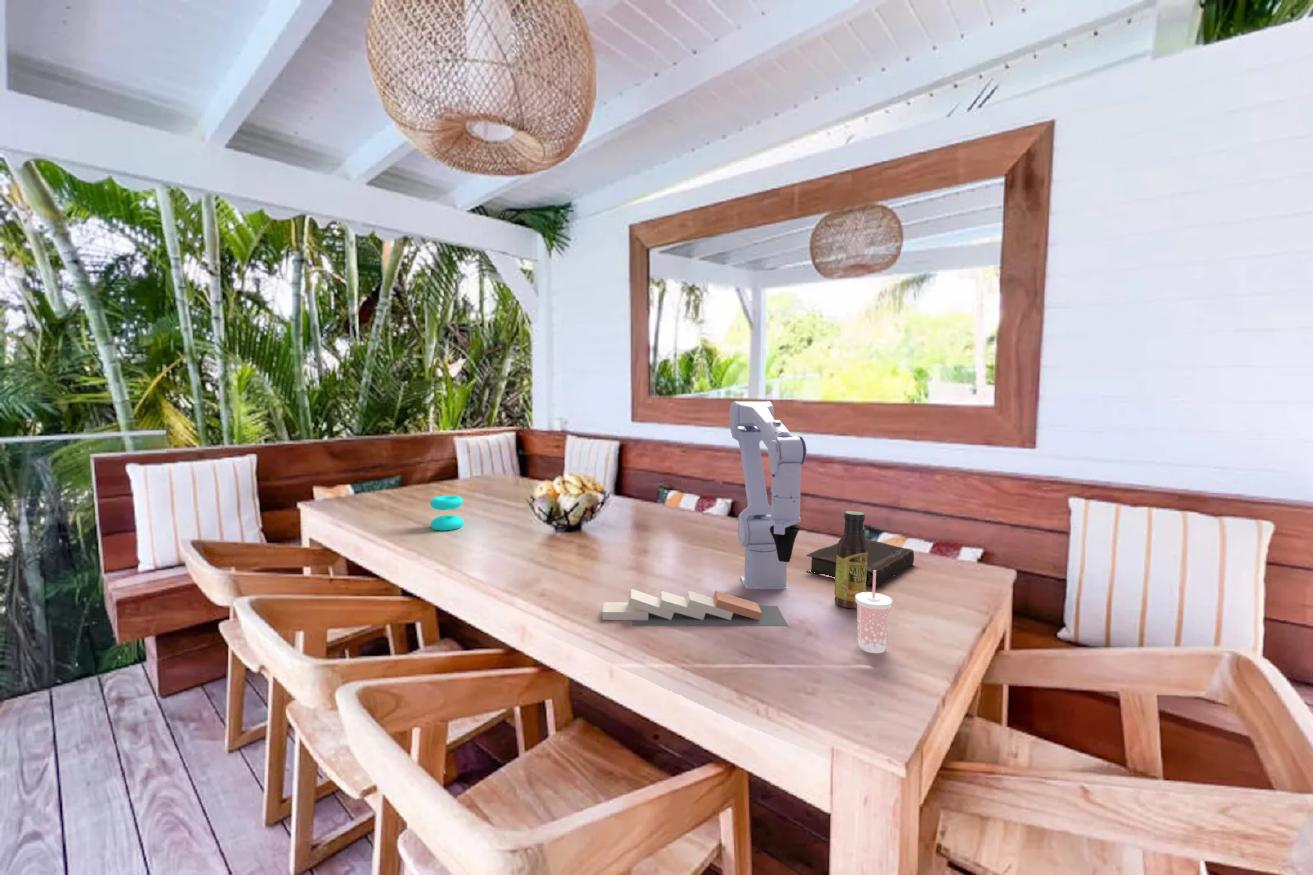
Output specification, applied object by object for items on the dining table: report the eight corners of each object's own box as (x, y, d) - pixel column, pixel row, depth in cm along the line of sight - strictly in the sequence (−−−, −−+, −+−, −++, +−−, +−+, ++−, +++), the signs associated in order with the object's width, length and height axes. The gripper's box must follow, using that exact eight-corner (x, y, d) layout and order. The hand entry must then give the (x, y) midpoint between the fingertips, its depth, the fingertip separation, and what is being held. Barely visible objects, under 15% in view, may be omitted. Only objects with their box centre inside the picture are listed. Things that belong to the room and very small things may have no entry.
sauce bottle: (849, 612, 117) (853, 517, 115) (827, 602, 122) (830, 511, 120) (872, 606, 120) (876, 514, 118) (849, 597, 125) (853, 508, 124)
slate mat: (777, 607, 119) (777, 605, 119) (788, 627, 109) (788, 625, 109) (634, 607, 119) (634, 605, 119) (632, 627, 109) (632, 625, 109)
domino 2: (672, 602, 116) (631, 588, 116) (673, 612, 111) (630, 597, 111) (670, 609, 116) (628, 595, 116) (671, 620, 111) (627, 605, 111)
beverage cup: (897, 652, 99) (901, 574, 98) (867, 657, 97) (871, 577, 96) (874, 637, 105) (877, 563, 104) (846, 641, 103) (849, 566, 102)
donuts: (445, 493, 190) (469, 495, 186) (445, 523, 191) (470, 525, 187) (422, 499, 181) (448, 501, 177) (424, 530, 181) (449, 533, 178)
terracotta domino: (759, 620, 111) (715, 607, 111) (754, 610, 116) (713, 597, 116) (761, 612, 111) (718, 599, 111) (757, 603, 116) (715, 590, 116)
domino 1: (648, 602, 116) (604, 602, 116) (648, 612, 111) (602, 612, 111) (648, 610, 116) (604, 609, 116) (648, 620, 111) (602, 619, 111)
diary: (914, 567, 148) (915, 549, 148) (876, 593, 130) (877, 571, 129) (846, 552, 161) (847, 534, 160) (802, 573, 143) (803, 553, 142)
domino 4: (729, 603, 116) (688, 590, 116) (733, 612, 111) (689, 599, 111) (727, 610, 116) (685, 597, 116) (730, 620, 111) (687, 607, 111)
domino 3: (703, 602, 116) (661, 590, 116) (705, 612, 111) (661, 600, 111) (700, 610, 116) (658, 598, 116) (703, 620, 111) (659, 607, 111)
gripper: (772, 488, 124) (771, 549, 125) (758, 500, 111) (757, 568, 112) (806, 491, 121) (804, 553, 122) (795, 503, 108) (794, 573, 109)
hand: (784, 560), depth 117 cm, fingers closed
